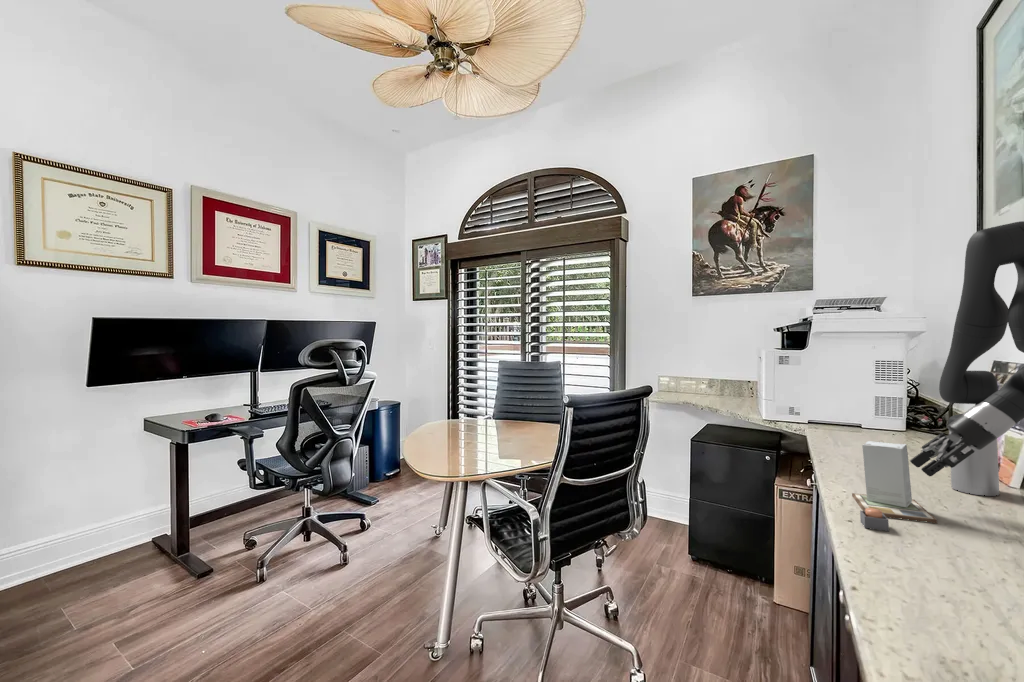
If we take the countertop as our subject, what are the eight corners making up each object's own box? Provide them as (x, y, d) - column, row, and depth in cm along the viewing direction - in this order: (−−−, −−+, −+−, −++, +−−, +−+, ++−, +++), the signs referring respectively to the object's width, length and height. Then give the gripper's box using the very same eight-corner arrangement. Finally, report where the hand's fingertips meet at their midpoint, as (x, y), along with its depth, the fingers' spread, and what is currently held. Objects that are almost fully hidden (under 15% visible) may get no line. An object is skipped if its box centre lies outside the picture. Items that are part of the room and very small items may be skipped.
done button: (864, 514, 103) (863, 507, 103) (880, 516, 102) (880, 509, 102) (867, 518, 101) (867, 511, 101) (884, 520, 99) (883, 513, 99)
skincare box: (912, 503, 112) (910, 444, 112) (906, 509, 108) (904, 448, 109) (870, 495, 119) (868, 439, 119) (864, 500, 115) (861, 442, 115)
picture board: (852, 496, 121) (852, 492, 121) (914, 502, 115) (914, 499, 115) (866, 515, 108) (865, 511, 108) (937, 523, 102) (936, 519, 102)
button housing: (860, 521, 104) (860, 510, 104) (883, 524, 102) (882, 513, 102) (865, 528, 100) (864, 516, 100) (888, 531, 98) (888, 519, 98)
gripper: (952, 409, 113) (896, 451, 118) (978, 418, 101) (914, 463, 106) (982, 432, 111) (923, 473, 116) (1012, 443, 98) (945, 489, 103)
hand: (919, 468), depth 111 cm, fingers open, 8 cm apart
